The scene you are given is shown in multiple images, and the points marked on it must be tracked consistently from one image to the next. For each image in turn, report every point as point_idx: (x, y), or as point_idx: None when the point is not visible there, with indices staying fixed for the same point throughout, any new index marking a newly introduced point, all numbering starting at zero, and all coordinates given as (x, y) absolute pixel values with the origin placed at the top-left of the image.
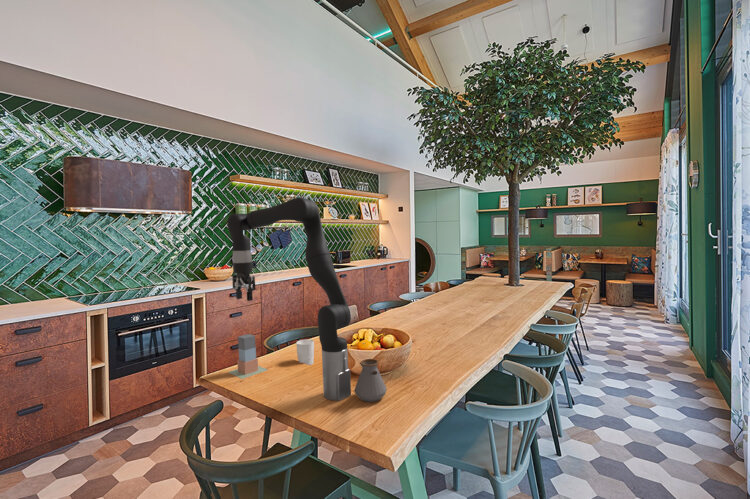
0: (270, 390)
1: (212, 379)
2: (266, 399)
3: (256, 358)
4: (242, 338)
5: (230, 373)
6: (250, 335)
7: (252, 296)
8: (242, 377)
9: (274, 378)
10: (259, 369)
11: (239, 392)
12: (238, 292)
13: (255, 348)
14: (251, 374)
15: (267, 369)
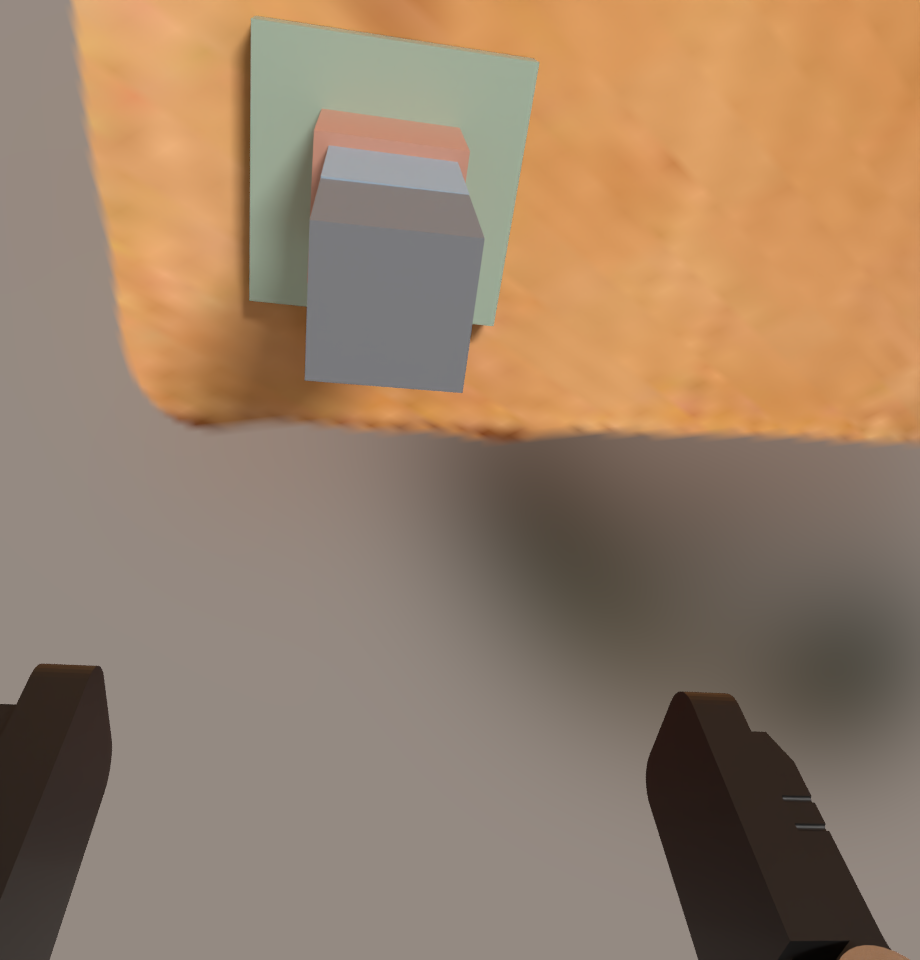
0: (789, 299)
1: (224, 393)
2: (844, 396)
3: (449, 150)
4: (420, 387)
5: (299, 305)
6: (411, 260)
7: (767, 770)
8: None
9: (672, 122)
10: (452, 105)
11: (605, 420)
12: (35, 928)
13: (466, 192)
14: (486, 230)
15: (525, 62)
